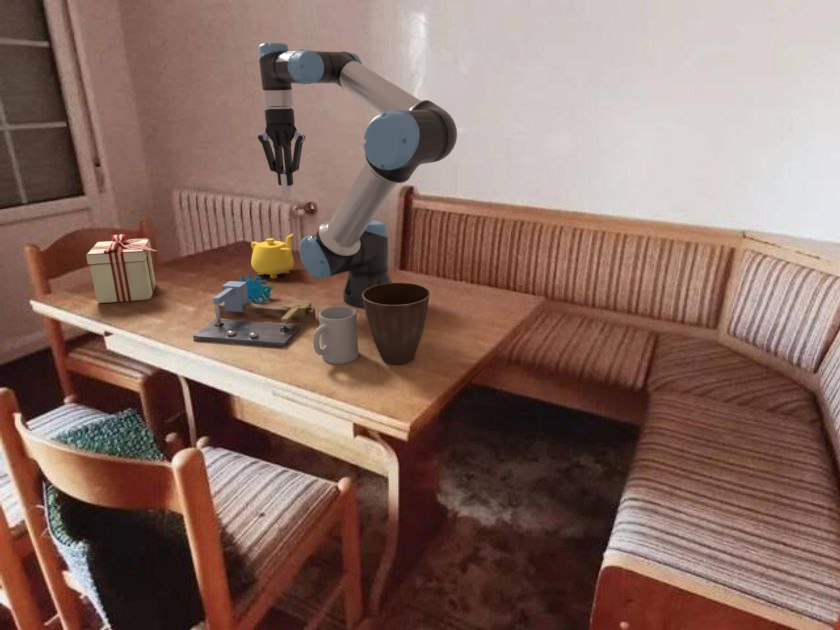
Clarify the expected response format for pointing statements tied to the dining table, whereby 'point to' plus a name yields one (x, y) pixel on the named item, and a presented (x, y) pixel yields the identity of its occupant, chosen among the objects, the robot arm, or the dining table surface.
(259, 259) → the teapot
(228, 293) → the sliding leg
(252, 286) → the gear
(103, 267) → the gift box
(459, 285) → the dining table surface
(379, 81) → the robot arm
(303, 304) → the fixed leg
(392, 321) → the plant pot
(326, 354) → the mug
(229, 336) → the hole plate
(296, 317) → the beam
